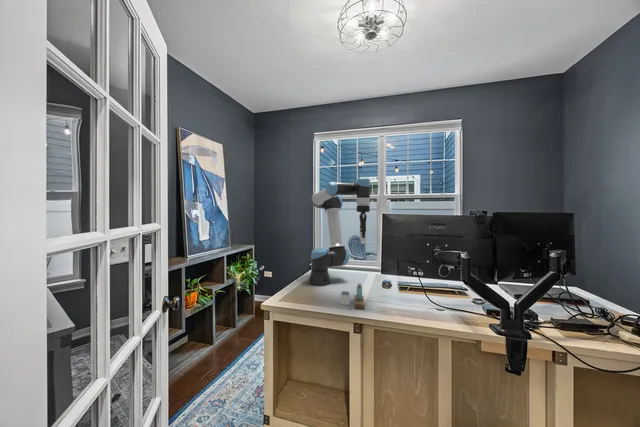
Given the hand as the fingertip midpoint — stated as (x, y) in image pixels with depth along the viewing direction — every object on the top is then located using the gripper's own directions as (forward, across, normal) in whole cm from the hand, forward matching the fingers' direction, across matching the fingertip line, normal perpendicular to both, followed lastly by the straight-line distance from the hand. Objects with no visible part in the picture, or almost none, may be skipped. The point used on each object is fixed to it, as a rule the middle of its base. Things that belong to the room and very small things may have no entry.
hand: (362, 241), depth 156 cm
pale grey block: (+33, +10, -10) cm, 36 cm away
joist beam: (+33, +11, -2) cm, 35 cm away
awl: (+30, +11, -2) cm, 32 cm away
